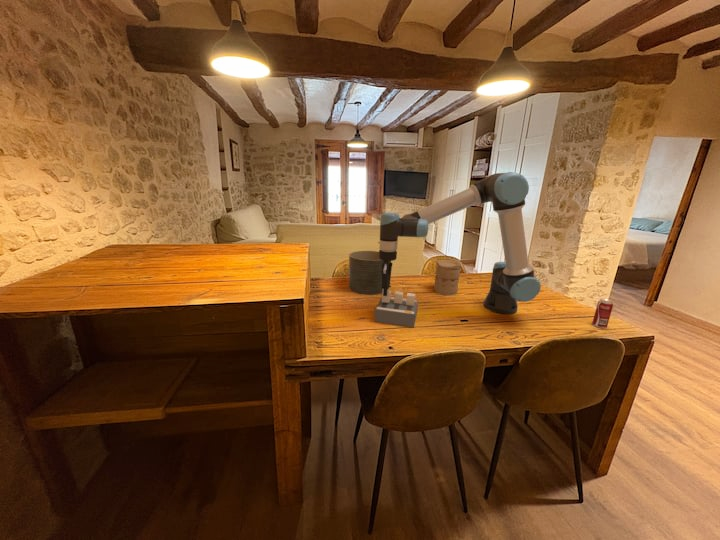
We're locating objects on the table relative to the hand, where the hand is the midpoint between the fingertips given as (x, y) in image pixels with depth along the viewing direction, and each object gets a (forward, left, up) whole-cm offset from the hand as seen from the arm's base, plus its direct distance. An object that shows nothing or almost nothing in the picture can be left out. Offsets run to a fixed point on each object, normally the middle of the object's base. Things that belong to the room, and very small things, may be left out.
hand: (385, 301), depth 133 cm
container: (-27, -40, -8) cm, 49 cm away
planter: (+15, -31, -8) cm, 36 cm away
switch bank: (-5, -1, -7) cm, 9 cm away
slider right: (-11, -3, -1) cm, 11 cm away
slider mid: (-5, -4, -1) cm, 7 cm away
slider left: (0, -4, -1) cm, 4 cm away
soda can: (-93, -21, -8) cm, 96 cm away
